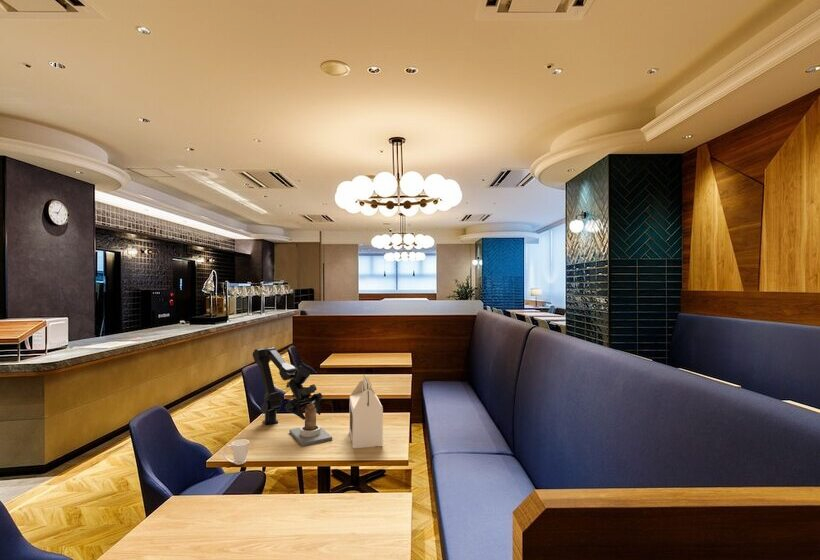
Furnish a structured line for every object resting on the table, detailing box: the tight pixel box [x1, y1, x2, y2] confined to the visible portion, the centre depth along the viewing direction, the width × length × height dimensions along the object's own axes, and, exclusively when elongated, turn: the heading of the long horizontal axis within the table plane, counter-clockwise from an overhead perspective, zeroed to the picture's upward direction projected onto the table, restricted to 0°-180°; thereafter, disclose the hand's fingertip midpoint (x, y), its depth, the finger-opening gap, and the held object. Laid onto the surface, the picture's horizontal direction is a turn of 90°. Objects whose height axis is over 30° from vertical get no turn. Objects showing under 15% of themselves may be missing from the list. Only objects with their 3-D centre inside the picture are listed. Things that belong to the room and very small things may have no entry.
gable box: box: [349, 374, 384, 449], centre depth 196 cm, size 22×13×28 cm, turn 12°
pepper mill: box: [304, 402, 317, 431], centre depth 198 cm, size 5×5×14 cm
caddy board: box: [288, 424, 333, 447], centre depth 198 cm, size 20×14×4 cm
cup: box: [222, 438, 250, 466], centre depth 169 cm, size 7×10×8 cm
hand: (312, 416), depth 197 cm, fingers open, 9 cm apart
